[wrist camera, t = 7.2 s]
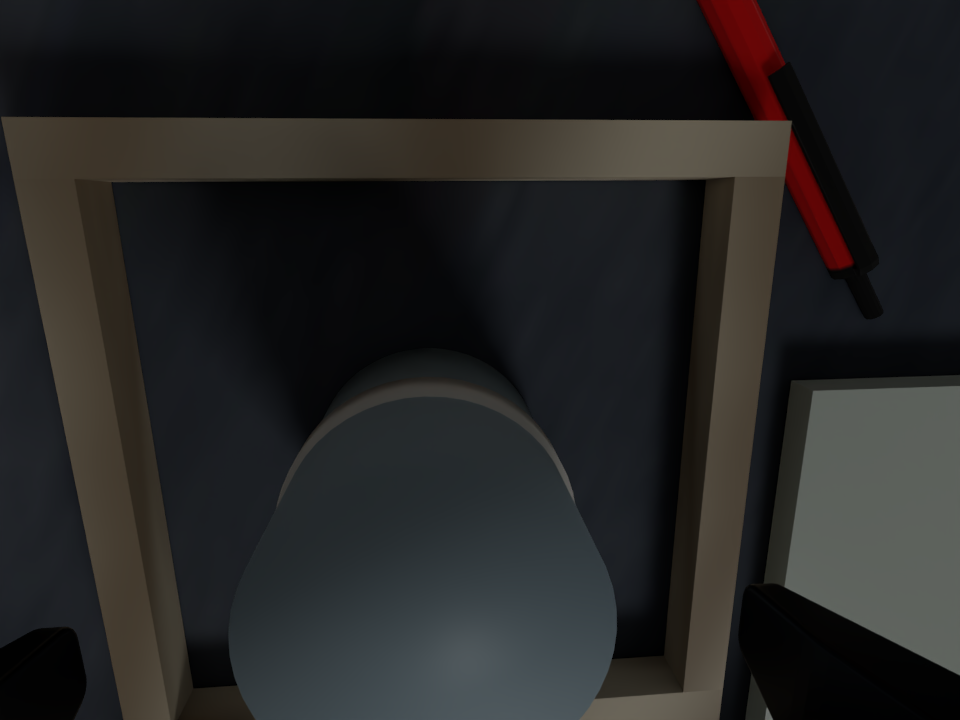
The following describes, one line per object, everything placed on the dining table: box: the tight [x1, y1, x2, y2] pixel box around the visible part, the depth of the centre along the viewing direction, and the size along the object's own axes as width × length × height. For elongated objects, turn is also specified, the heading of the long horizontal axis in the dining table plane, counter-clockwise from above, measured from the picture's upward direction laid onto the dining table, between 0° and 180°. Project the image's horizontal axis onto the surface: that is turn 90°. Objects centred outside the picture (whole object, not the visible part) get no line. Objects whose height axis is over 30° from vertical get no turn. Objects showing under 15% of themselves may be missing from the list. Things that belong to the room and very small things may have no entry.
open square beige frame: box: [1, 117, 792, 720], centre depth 13 cm, size 14×14×1 cm
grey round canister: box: [228, 348, 617, 720], centre depth 10 cm, size 5×5×6 cm
